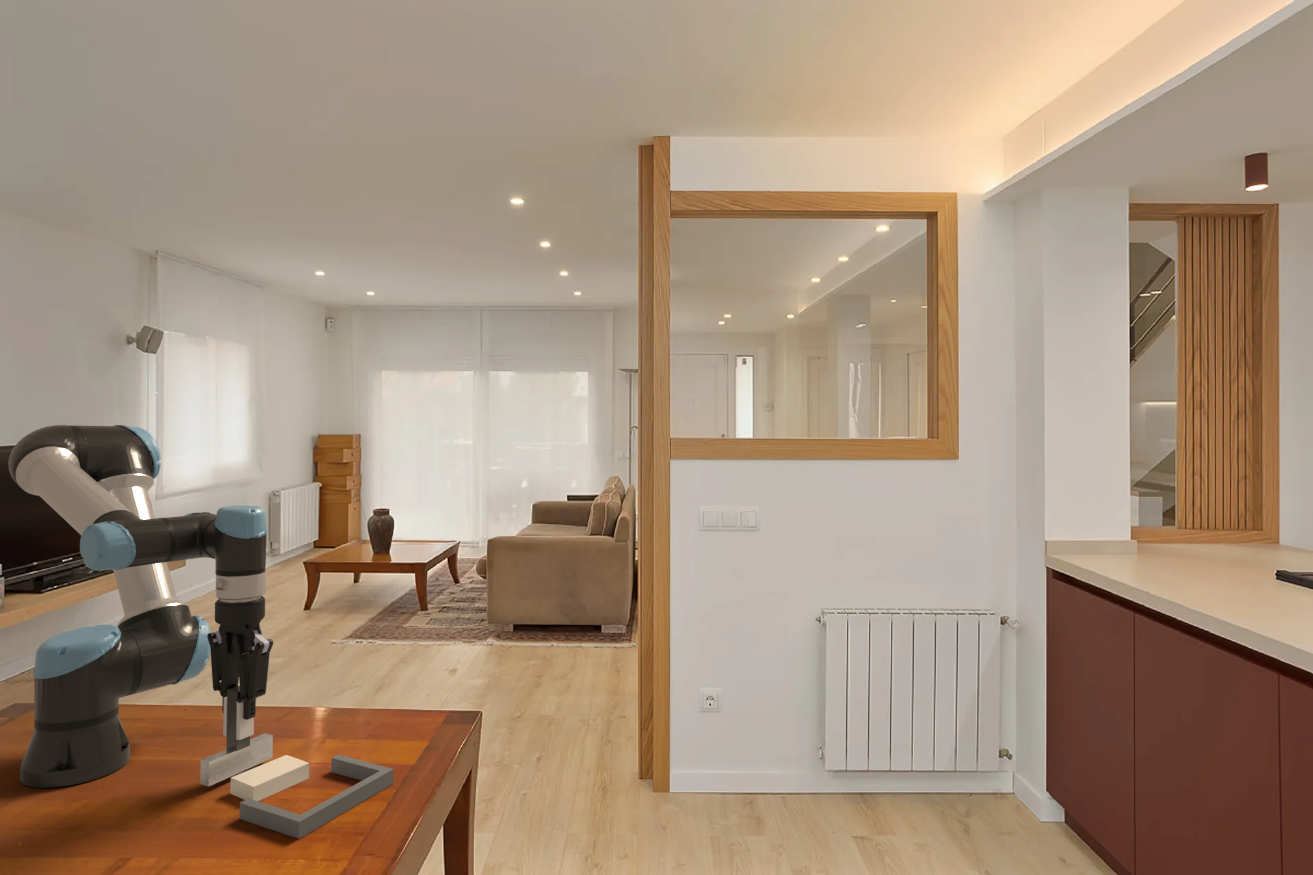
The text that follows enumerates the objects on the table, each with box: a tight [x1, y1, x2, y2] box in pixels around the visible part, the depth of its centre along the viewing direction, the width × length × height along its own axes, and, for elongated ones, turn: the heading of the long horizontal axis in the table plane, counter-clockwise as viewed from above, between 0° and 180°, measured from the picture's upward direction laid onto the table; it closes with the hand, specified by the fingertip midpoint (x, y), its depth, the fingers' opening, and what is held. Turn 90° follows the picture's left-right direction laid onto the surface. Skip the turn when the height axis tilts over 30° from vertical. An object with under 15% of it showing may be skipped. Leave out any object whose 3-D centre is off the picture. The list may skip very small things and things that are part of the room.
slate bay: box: [239, 754, 395, 840], centre depth 122 cm, size 12×19×2 cm, turn 156°
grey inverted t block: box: [199, 685, 274, 787], centre depth 129 cm, size 12×2×14 cm, turn 156°
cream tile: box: [229, 754, 310, 802], centre depth 126 cm, size 6×10×3 cm, turn 151°
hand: (238, 734), depth 129 cm, fingers closed on grey inverted t block, 2 cm apart
